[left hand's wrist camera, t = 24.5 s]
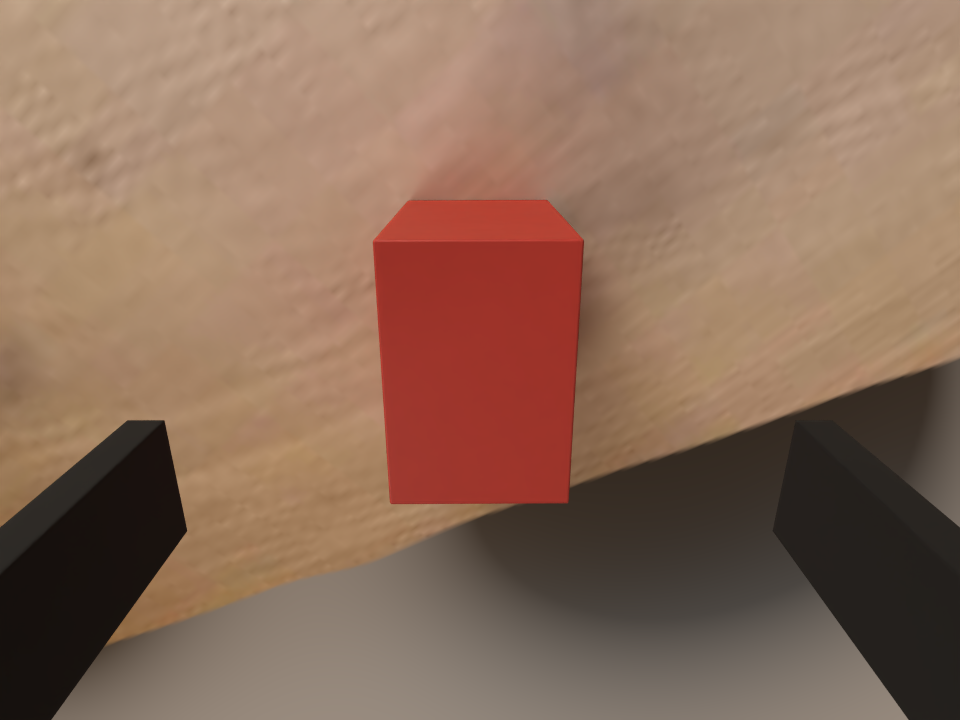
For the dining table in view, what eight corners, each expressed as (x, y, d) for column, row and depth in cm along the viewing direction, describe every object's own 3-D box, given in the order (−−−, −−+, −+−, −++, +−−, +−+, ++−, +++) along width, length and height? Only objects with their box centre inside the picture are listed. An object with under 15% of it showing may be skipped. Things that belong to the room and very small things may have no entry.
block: (541, 389, 26) (568, 504, 18) (415, 389, 26) (390, 504, 18) (547, 199, 24) (584, 239, 16) (407, 200, 23) (372, 240, 16)
